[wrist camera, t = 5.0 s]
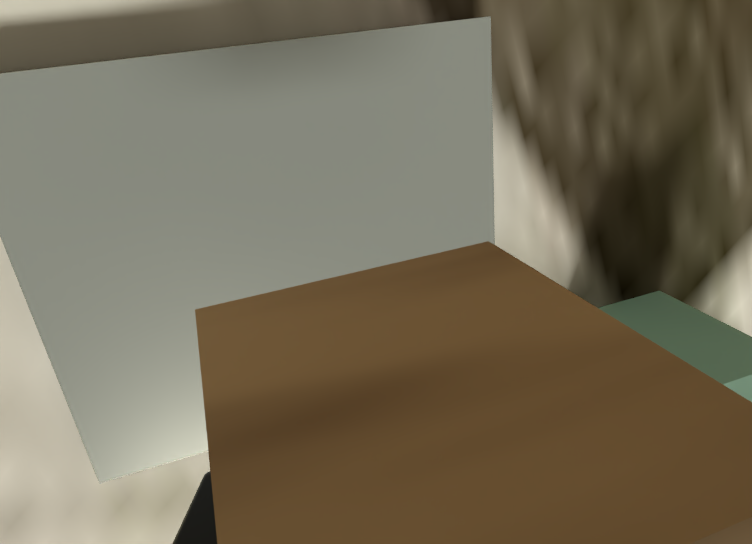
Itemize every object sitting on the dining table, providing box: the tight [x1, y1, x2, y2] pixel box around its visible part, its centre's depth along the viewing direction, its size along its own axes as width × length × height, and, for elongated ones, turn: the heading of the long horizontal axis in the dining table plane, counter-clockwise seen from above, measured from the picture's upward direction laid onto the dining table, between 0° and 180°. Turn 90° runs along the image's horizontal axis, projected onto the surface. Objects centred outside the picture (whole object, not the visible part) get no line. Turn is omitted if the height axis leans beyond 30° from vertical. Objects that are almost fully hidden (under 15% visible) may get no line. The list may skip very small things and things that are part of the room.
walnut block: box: [195, 241, 752, 544], centre depth 8 cm, size 5×5×6 cm
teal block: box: [598, 291, 752, 402], centre depth 22 cm, size 5×5×6 cm
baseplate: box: [0, 17, 495, 484], centre depth 17 cm, size 12×14×1 cm
